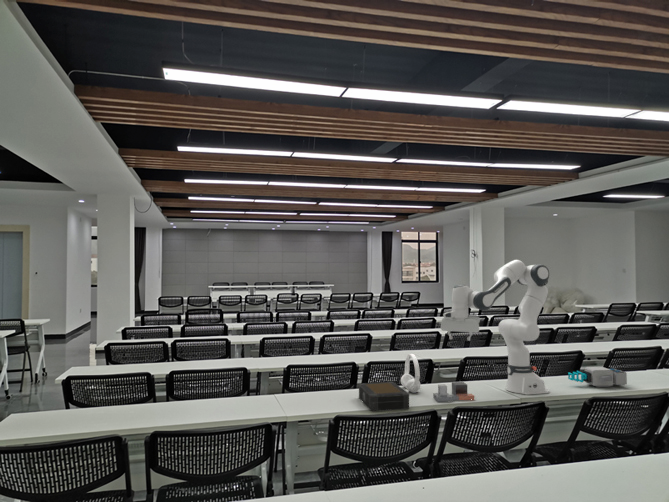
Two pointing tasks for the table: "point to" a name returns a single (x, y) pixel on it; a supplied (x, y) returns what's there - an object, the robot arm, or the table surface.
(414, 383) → the headphones
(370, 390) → the cash box
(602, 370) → the toy
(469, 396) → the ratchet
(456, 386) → the dark grey cube
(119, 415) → the table surface
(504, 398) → the table surface
